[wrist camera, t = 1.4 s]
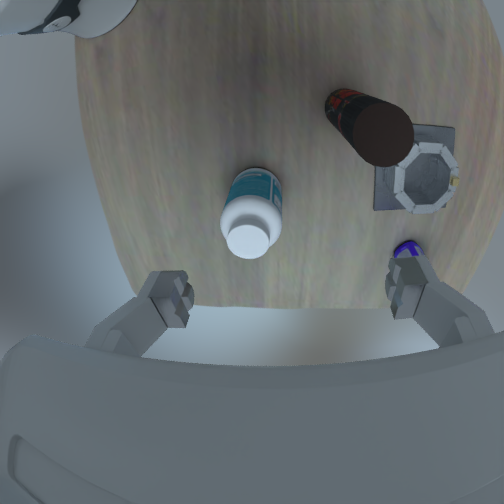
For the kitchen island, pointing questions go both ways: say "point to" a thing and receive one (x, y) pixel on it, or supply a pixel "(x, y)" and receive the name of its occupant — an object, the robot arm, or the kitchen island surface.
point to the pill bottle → (252, 213)
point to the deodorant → (371, 126)
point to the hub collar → (420, 174)
